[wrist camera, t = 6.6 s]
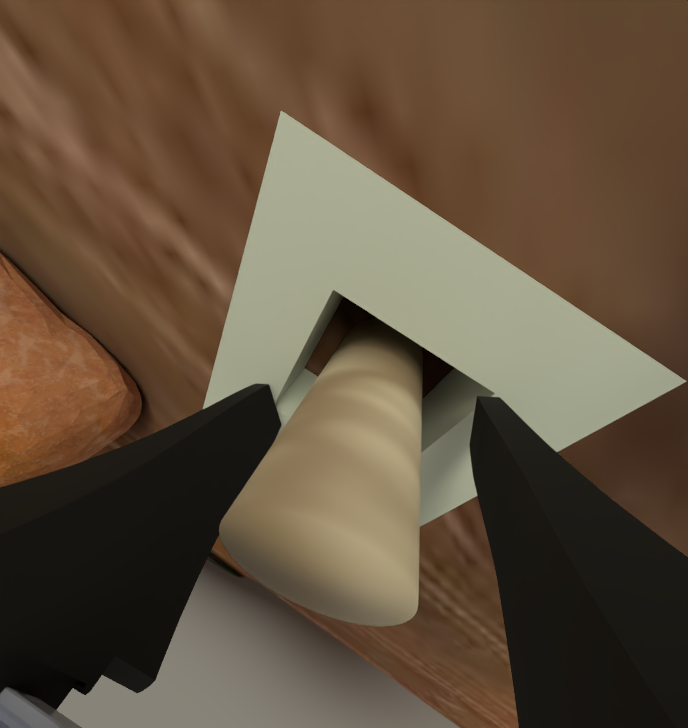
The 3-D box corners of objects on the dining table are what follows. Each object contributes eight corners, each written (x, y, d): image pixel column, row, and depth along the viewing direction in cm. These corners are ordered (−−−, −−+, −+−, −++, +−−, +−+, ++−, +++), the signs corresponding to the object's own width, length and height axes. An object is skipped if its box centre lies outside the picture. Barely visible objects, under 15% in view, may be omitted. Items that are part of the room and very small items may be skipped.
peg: (423, 316, 11) (418, 538, 3) (422, 393, 13) (418, 645, 5) (335, 320, 12) (187, 490, 5) (346, 390, 14) (254, 591, 6)
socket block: (604, 330, 9) (686, 381, 6) (408, 476, 16) (404, 535, 13) (328, 145, 9) (280, 110, 6) (244, 375, 15) (201, 412, 13)
